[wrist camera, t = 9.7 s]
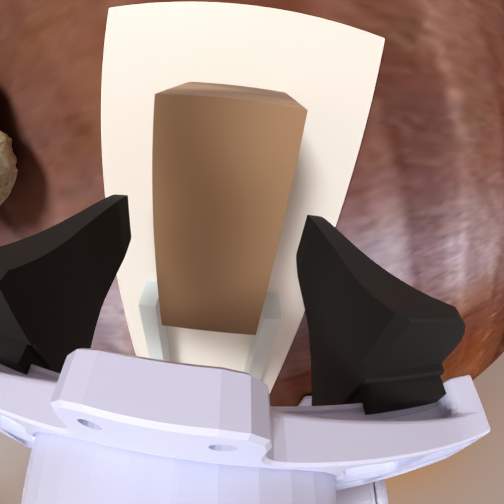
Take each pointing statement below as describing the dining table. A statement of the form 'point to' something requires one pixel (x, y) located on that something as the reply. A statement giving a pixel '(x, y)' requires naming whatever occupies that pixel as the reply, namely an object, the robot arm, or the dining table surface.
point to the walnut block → (220, 200)
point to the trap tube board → (241, 74)
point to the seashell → (6, 166)
